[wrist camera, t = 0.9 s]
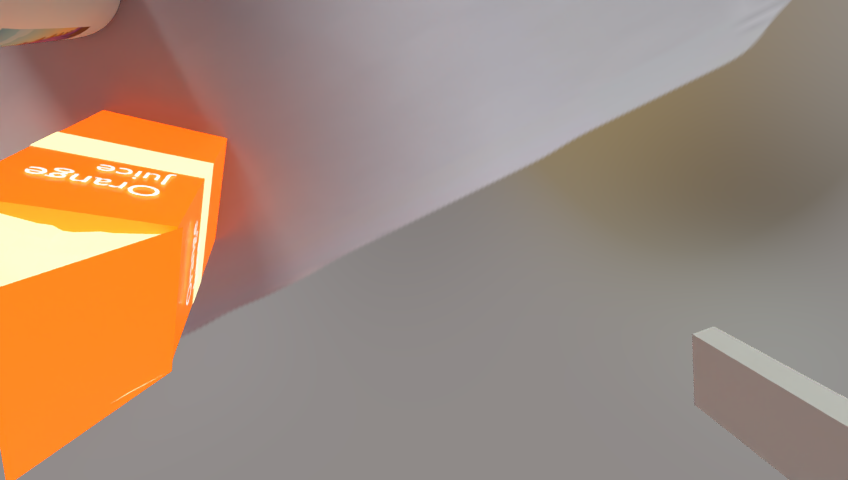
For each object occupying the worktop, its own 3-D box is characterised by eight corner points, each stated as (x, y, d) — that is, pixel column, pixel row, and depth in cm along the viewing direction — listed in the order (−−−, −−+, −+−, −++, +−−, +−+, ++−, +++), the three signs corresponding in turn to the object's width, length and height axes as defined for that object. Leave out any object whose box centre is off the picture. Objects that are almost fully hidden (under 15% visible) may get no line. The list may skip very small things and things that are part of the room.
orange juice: (102, 225, 30) (-149, 498, 13) (100, 107, 26) (-246, 273, 9) (217, 240, 33) (136, 478, 16) (230, 137, 29) (143, 303, 12)
